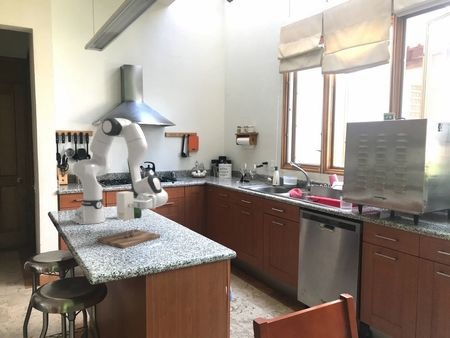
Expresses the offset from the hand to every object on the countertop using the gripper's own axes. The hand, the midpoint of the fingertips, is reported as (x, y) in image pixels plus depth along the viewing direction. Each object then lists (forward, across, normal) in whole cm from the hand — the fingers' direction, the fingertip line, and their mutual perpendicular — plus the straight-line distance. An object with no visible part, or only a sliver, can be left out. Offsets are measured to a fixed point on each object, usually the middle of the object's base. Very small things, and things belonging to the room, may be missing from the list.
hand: (123, 205), depth 188 cm
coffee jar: (-41, -37, +18) cm, 58 cm away
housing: (-1, 0, +8) cm, 8 cm away
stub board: (-1, +3, +18) cm, 18 cm away
